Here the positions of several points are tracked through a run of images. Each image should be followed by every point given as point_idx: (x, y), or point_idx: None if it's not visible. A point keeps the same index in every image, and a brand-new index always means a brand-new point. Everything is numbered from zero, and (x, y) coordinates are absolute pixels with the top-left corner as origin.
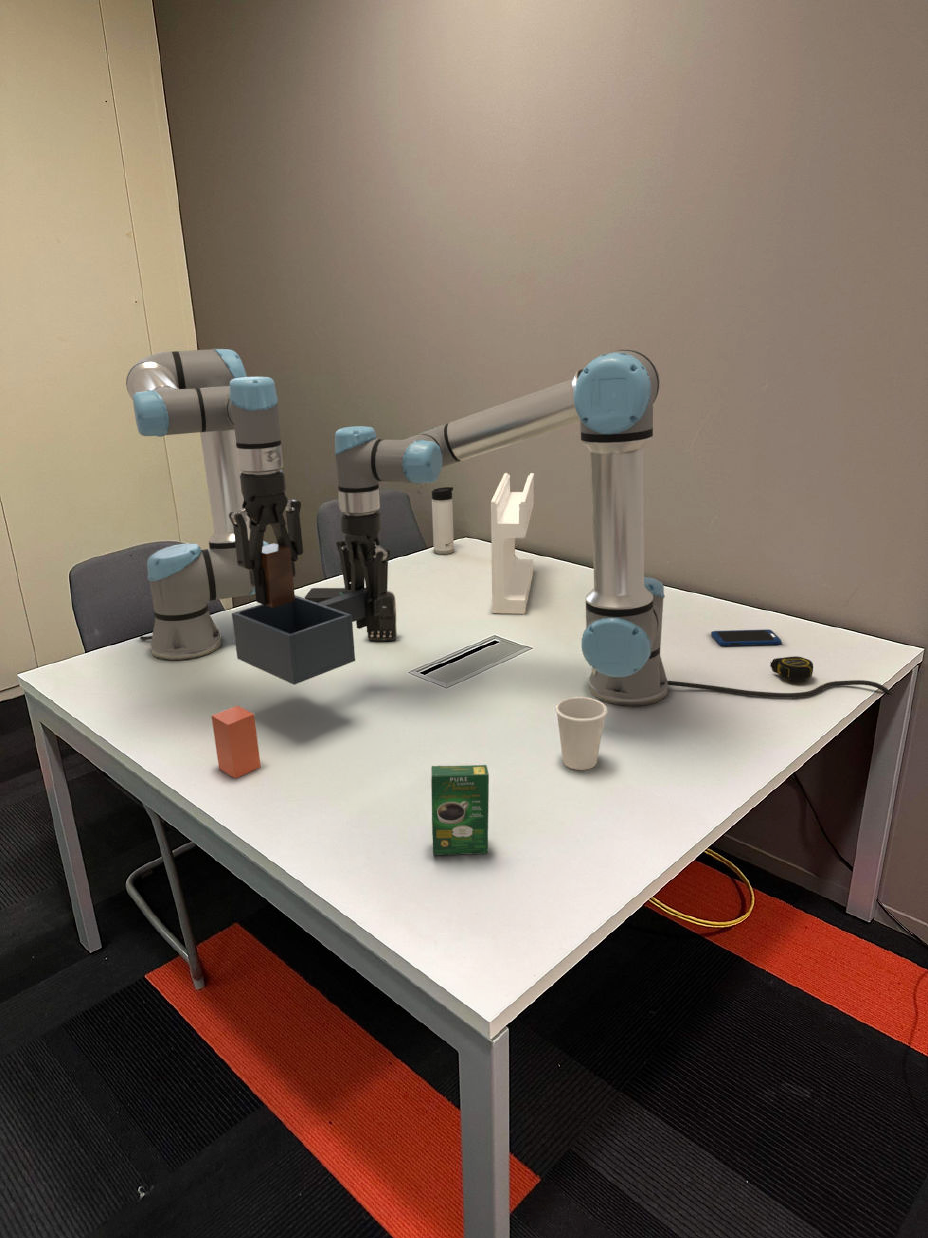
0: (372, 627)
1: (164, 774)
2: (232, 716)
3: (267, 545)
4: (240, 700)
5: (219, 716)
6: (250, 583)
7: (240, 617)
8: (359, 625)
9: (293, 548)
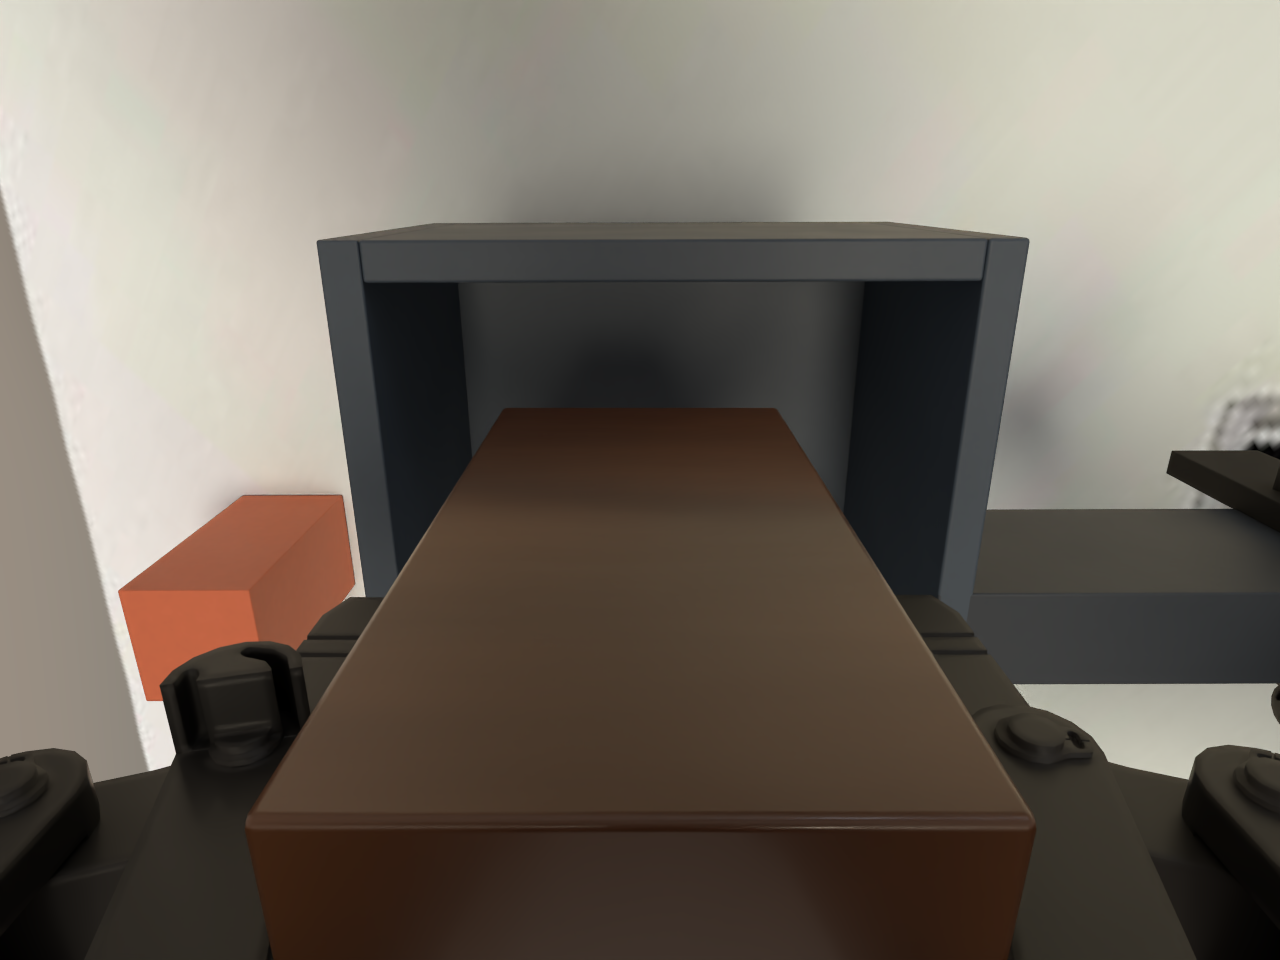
0: None
1: (74, 390)
2: (189, 658)
3: (769, 876)
4: (573, 36)
5: (143, 622)
6: (321, 617)
7: (338, 388)
8: (1184, 481)
9: (1231, 922)
